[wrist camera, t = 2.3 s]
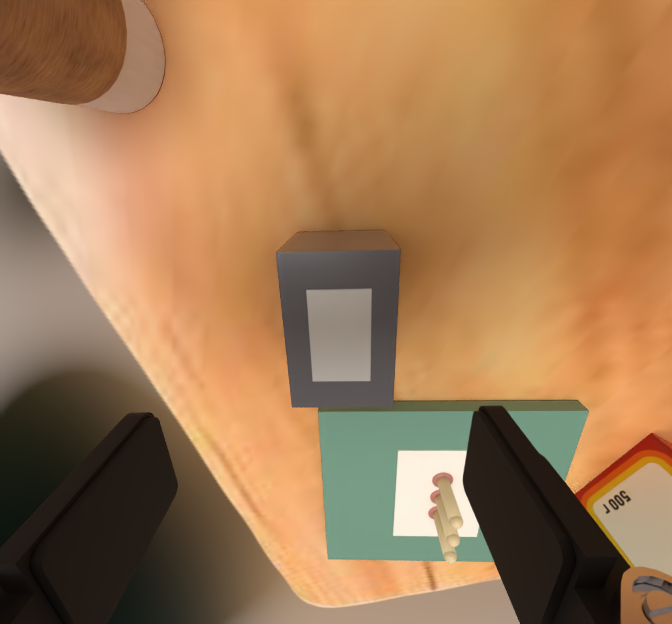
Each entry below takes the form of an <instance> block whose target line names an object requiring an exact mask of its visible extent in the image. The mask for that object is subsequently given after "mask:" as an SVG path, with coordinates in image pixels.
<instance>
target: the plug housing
mask: <svg viewBox="0 0 672 624" xmlns="http://www.w3.org/2000/svg"><path fill="white" fill-rule="evenodd" d="M400 253H401V249H400V248H399V247H398V246H397V245H396V243H395V242H394V241H393V240H392V239H391V237H390V236H389V235H388V234H387V233H386V231H385V230H355V231H318V232H297V233H296V234H295V235H294V236H293V237H292V238H291V239H290V240H289V241H288V242H286V243H285V244H284V245H283V246H282V247H281V248H280V249H279V250H278V251H277V252H276V258H277V268H278V277H279V287H280V297H281V306H282V316H283V325H284V335H285V345H286V354H287V364H288V373H289V383H290V393H291V402H292V407H393V399H394V378H395V357H396V337H397V316H398V295H399V274H400Z"/></svg>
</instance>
